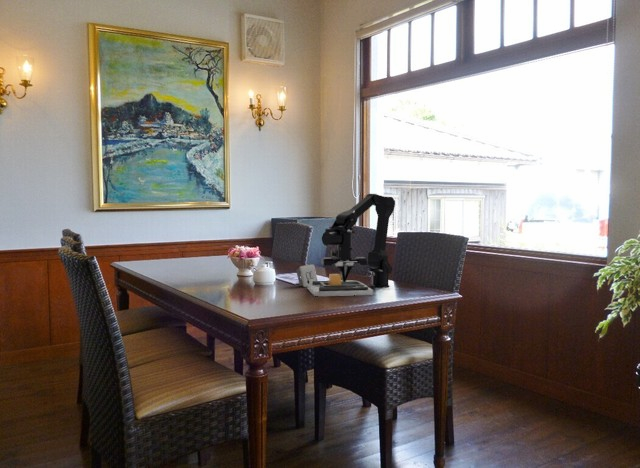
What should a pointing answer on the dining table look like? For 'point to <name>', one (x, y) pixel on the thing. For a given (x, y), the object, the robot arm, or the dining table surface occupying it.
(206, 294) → the dining table surface
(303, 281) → the electrical switch
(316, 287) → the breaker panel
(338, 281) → the orange cube block
